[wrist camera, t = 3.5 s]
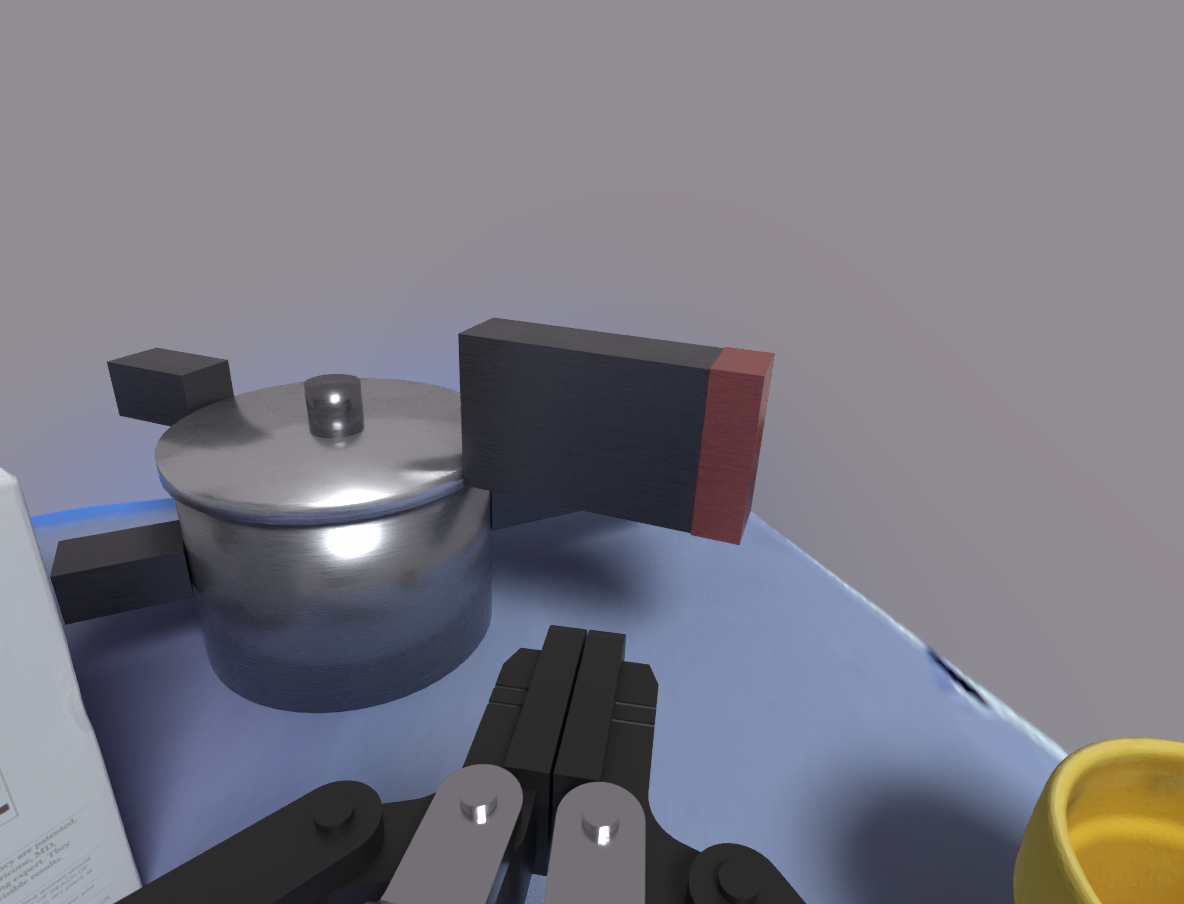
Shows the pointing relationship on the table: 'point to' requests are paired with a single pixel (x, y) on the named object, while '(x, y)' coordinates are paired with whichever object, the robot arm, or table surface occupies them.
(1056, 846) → the plant pot
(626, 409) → the lid
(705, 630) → the table surface
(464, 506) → the pot
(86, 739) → the supplement box
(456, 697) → the table surface
